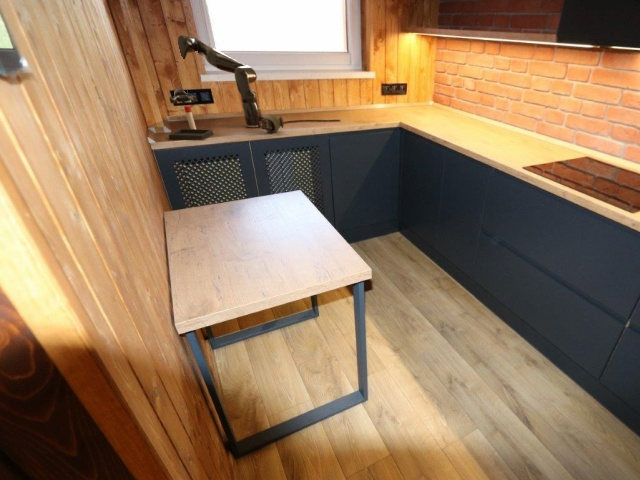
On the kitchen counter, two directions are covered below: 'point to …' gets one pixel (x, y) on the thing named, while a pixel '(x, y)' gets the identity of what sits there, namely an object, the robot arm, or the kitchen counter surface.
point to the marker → (190, 117)
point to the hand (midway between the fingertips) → (184, 101)
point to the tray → (191, 134)
